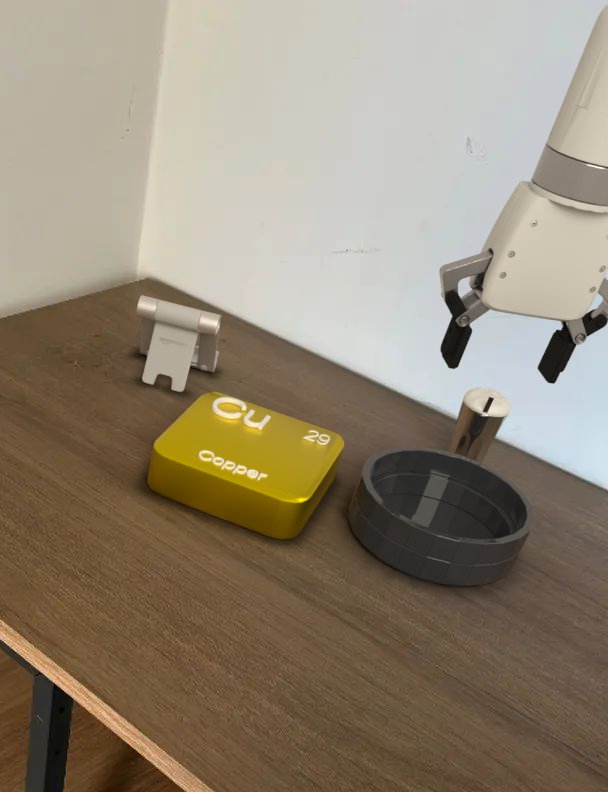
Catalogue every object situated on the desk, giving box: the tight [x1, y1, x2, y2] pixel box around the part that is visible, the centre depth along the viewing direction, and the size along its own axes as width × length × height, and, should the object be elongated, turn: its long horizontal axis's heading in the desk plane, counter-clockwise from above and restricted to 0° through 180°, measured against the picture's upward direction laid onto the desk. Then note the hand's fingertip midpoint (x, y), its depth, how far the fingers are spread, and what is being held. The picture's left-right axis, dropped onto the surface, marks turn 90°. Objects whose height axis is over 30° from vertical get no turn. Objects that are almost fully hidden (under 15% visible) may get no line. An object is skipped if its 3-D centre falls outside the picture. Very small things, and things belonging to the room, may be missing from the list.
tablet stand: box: [135, 294, 222, 393], centre depth 104 cm, size 9×8×8 cm
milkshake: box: [447, 386, 512, 464], centre depth 95 cm, size 4×5×10 cm
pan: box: [347, 446, 536, 587], centre depth 87 cm, size 15×15×5 cm
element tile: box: [146, 391, 345, 541], centre depth 90 cm, size 15×15×5 cm
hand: (497, 369), depth 91 cm, fingers open, 9 cm apart
